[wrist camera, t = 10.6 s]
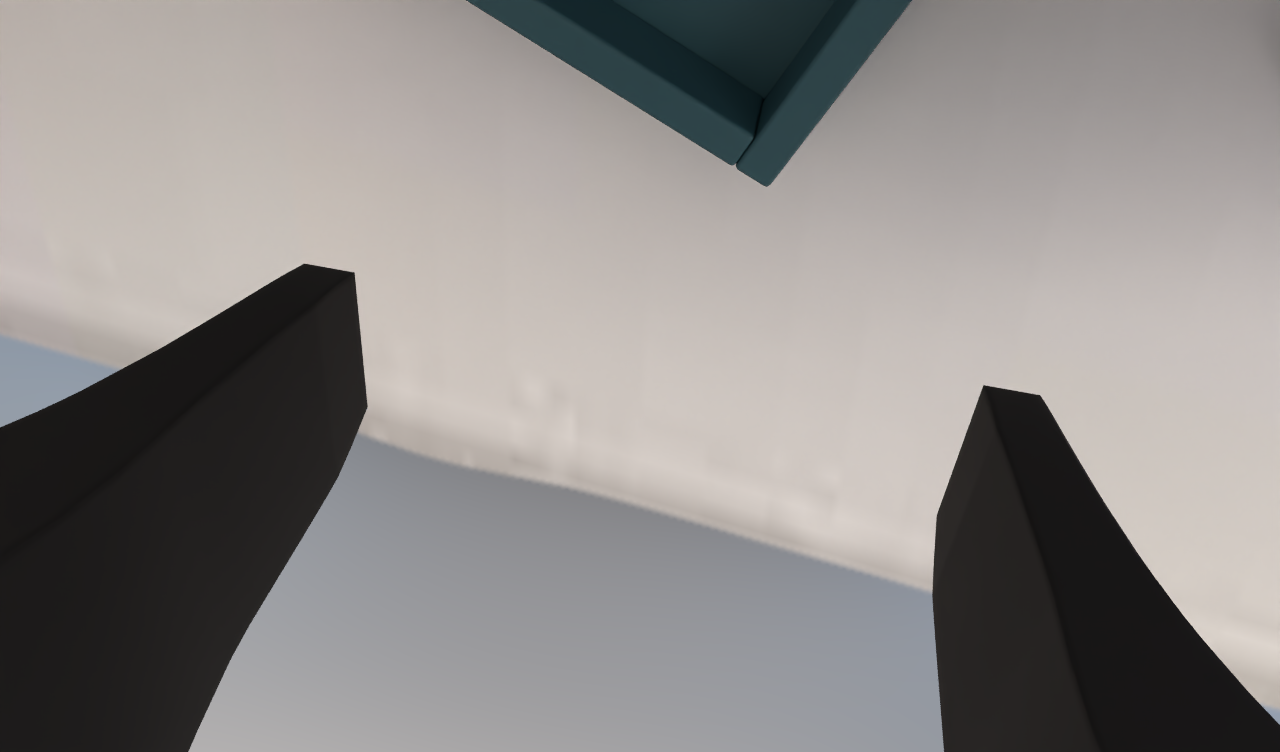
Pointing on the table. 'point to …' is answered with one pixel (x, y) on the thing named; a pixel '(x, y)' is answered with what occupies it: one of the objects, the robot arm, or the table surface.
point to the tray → (715, 62)
